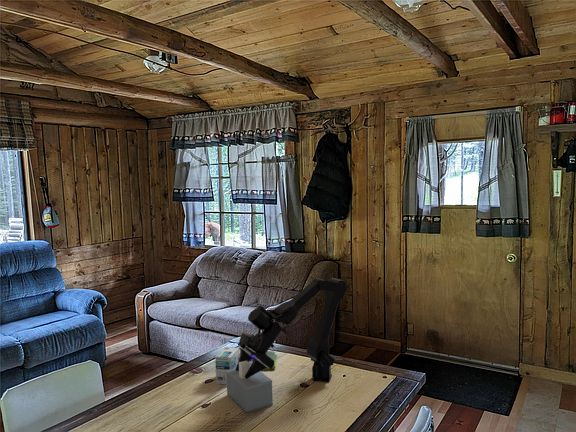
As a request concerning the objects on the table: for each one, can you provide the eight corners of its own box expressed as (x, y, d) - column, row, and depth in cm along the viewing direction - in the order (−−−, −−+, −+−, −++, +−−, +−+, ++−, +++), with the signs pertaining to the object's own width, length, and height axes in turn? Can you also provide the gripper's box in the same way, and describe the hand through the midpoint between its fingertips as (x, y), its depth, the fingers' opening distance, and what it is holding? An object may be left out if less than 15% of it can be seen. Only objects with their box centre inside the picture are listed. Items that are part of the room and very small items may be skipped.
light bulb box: (232, 385, 173) (231, 357, 172) (215, 384, 175) (214, 356, 174) (240, 373, 184) (239, 347, 183) (224, 372, 185) (223, 346, 184)
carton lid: (251, 366, 170) (250, 351, 169) (272, 382, 156) (271, 366, 155) (226, 373, 165) (225, 357, 164) (245, 390, 150) (245, 373, 150)
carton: (252, 388, 170) (251, 367, 169) (272, 405, 156) (271, 382, 156) (227, 395, 165) (226, 373, 164) (246, 413, 151) (245, 390, 151)
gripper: (241, 317, 168) (214, 353, 163) (265, 331, 152) (236, 371, 147) (261, 334, 173) (235, 369, 168) (286, 349, 157) (258, 388, 152)
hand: (240, 374), depth 158 cm, fingers open, 7 cm apart
